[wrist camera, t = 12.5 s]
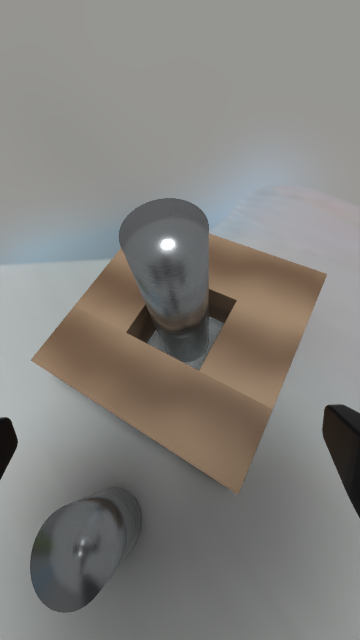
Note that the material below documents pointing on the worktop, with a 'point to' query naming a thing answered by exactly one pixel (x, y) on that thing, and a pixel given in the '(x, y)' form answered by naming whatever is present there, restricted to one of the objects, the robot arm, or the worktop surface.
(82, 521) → the short pin
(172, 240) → the long pin
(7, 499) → the worktop surface
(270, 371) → the plate
